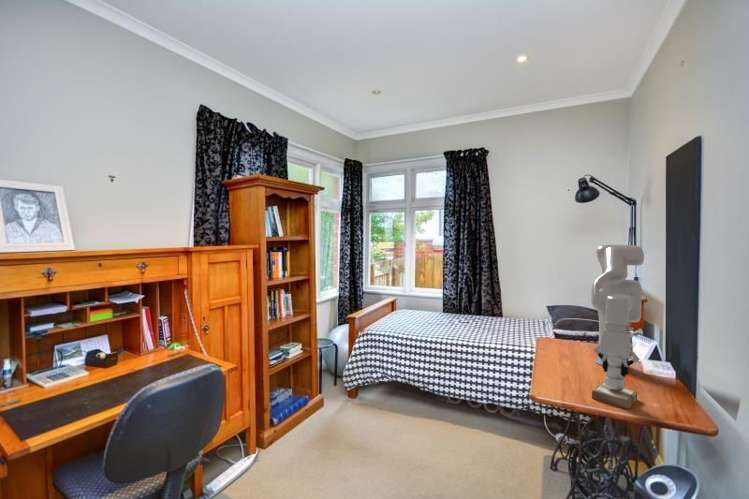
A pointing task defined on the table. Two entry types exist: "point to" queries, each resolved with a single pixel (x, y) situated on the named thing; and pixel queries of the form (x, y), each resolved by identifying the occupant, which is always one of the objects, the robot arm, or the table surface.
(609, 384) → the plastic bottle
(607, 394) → the plinth
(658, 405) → the table surface
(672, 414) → the table surface
